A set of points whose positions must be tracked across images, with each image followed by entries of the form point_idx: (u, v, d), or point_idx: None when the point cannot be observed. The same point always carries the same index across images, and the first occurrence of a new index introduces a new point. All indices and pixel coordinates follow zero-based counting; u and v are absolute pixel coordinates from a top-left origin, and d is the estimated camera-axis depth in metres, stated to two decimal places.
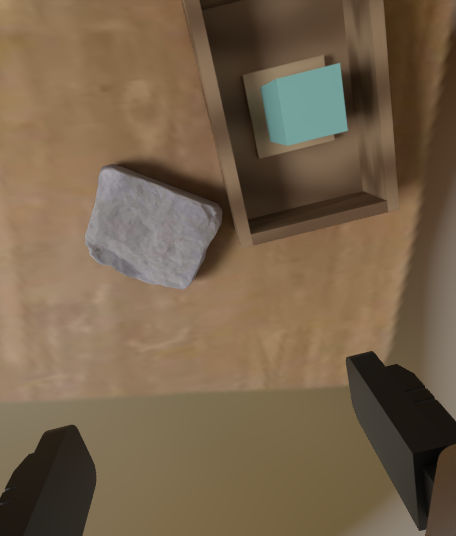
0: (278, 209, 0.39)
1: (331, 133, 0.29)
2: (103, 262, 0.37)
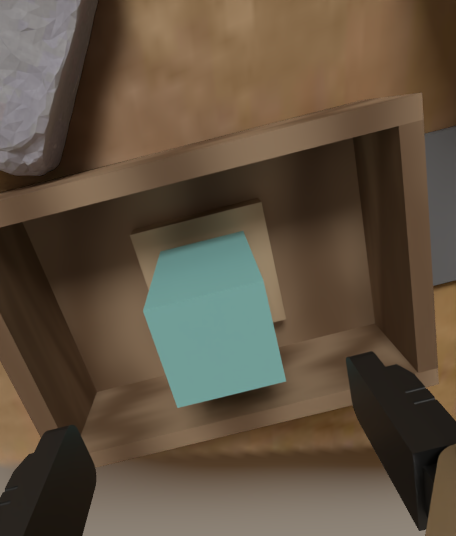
0: (47, 270, 0.22)
1: (171, 383, 0.16)
2: None
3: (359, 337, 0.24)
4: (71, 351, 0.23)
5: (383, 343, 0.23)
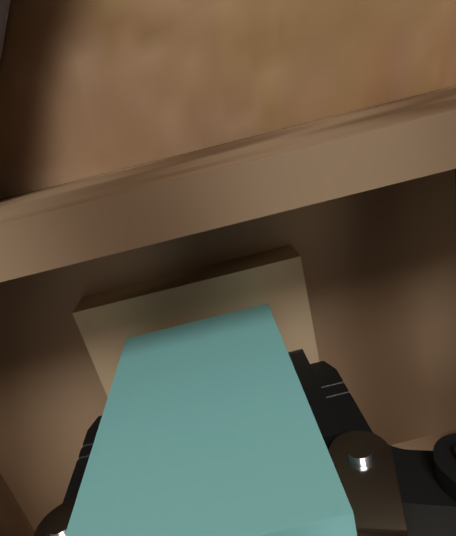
0: None
1: None
2: None
3: None
4: None
5: None
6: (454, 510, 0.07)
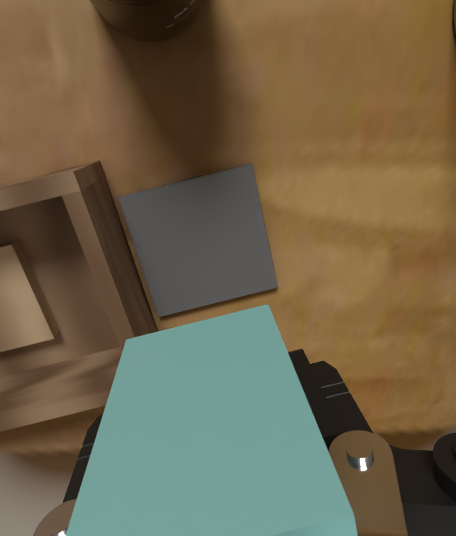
0: None
1: None
2: None
3: None
4: None
5: None
6: (454, 510, 0.07)
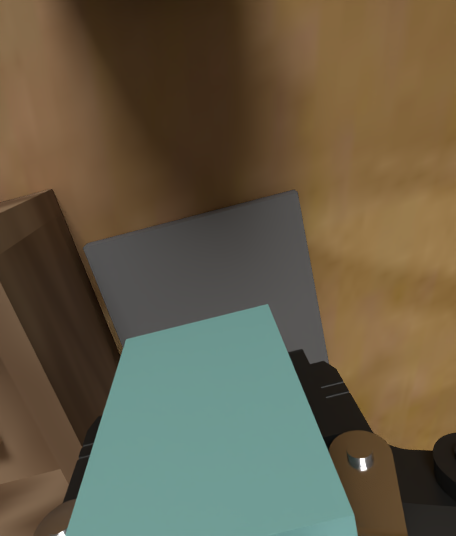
0: None
1: None
2: None
3: None
4: None
5: None
6: (454, 510, 0.07)
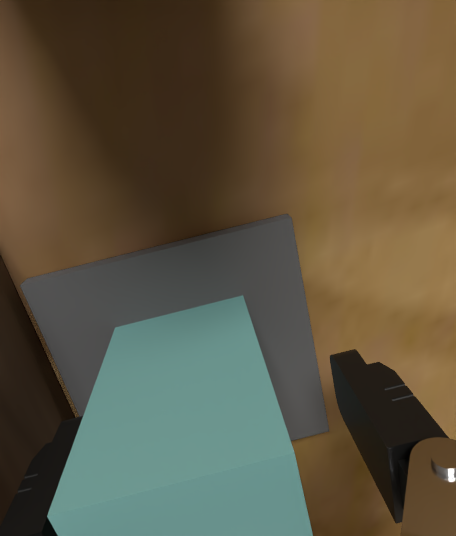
0: None
1: None
2: None
3: None
4: None
5: None
6: None
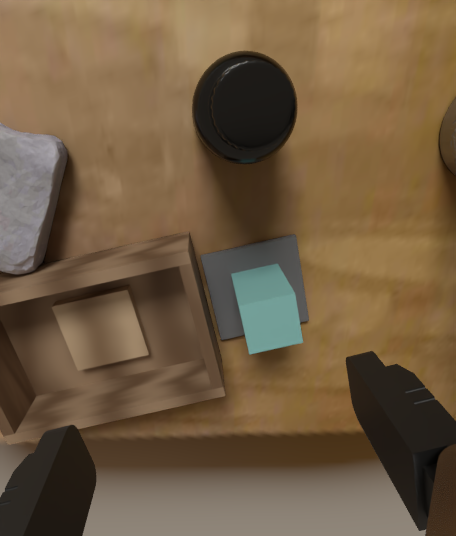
0: (4, 323, 0.37)
1: (247, 341, 0.32)
2: None
3: (196, 366, 0.39)
4: (18, 371, 0.38)
5: (206, 370, 0.38)
6: None
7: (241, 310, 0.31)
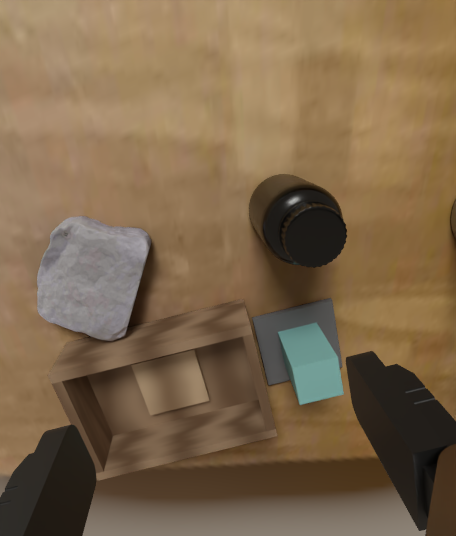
0: (89, 378, 0.44)
1: (298, 395, 0.39)
2: (52, 239, 0.37)
3: (248, 408, 0.46)
4: (101, 417, 0.45)
5: (258, 412, 0.45)
6: None
7: (294, 371, 0.38)
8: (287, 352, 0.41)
